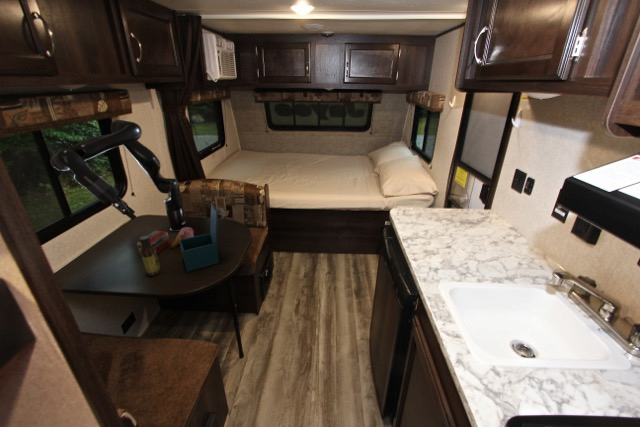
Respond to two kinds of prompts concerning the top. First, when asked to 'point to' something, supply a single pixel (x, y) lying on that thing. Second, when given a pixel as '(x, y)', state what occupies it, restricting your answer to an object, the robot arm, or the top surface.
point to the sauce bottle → (149, 256)
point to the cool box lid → (215, 221)
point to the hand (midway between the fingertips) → (134, 215)
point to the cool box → (199, 251)
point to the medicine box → (157, 241)
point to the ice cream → (183, 235)
